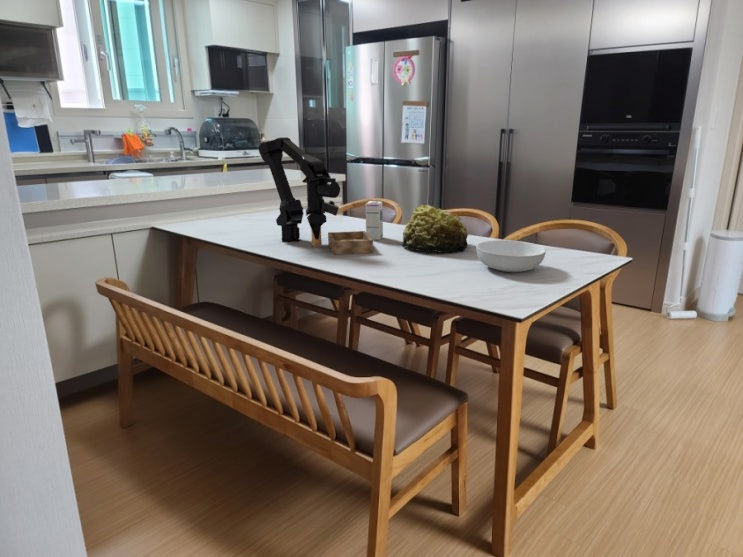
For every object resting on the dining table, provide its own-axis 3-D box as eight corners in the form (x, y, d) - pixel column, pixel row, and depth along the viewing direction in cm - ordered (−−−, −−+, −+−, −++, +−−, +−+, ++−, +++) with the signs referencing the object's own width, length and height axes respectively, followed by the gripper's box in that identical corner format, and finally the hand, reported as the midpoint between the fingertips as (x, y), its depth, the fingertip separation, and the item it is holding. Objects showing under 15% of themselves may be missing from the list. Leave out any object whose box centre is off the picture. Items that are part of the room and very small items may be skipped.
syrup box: (380, 240, 200) (380, 203, 196) (365, 239, 201) (365, 202, 197) (383, 237, 206) (383, 201, 201) (368, 236, 207) (368, 200, 203)
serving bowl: (502, 281, 147) (504, 258, 145) (462, 264, 165) (463, 243, 163) (559, 273, 155) (561, 251, 153) (514, 257, 173) (516, 237, 171)
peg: (312, 246, 190) (311, 222, 187) (311, 244, 193) (310, 221, 191) (322, 246, 191) (321, 222, 188) (321, 244, 194) (320, 220, 191)
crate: (333, 254, 178) (333, 242, 177) (328, 244, 194) (328, 232, 193) (372, 252, 180) (372, 240, 179) (364, 242, 197) (364, 230, 195)
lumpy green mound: (390, 243, 196) (390, 202, 191) (445, 238, 204) (447, 198, 200) (420, 258, 174) (421, 212, 169) (481, 251, 182) (483, 207, 178)
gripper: (340, 198, 179) (341, 242, 184) (334, 191, 197) (335, 231, 201) (308, 199, 177) (309, 243, 182) (304, 192, 195) (306, 233, 199)
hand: (316, 237), depth 191 cm, fingers open, 5 cm apart
